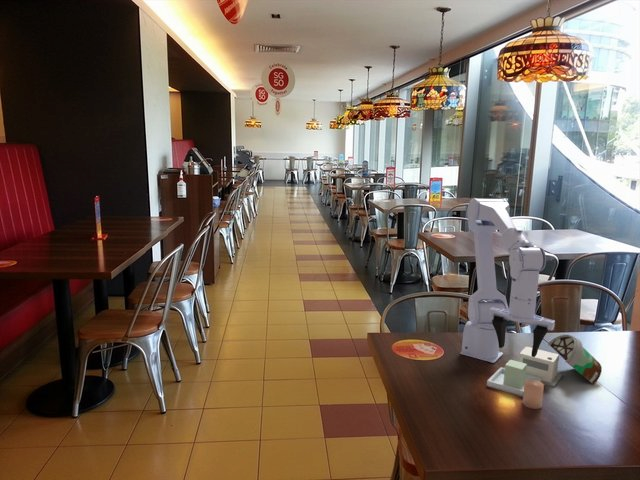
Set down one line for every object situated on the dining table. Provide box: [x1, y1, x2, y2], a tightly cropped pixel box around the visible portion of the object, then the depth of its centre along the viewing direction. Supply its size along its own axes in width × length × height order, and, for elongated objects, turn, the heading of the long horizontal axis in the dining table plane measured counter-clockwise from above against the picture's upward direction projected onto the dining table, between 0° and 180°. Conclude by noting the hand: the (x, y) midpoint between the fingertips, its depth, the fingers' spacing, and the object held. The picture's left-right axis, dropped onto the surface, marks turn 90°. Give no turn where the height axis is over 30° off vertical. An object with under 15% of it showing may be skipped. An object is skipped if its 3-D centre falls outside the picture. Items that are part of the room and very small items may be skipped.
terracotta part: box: [522, 380, 545, 410], centre depth 111 cm, size 4×4×5 cm
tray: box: [486, 366, 542, 398], centre depth 120 cm, size 10×10×1 cm
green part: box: [503, 359, 527, 389], centre depth 119 cm, size 4×4×5 cm
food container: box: [547, 334, 603, 385], centre depth 125 cm, size 12×6×10 cm
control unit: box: [518, 346, 563, 389], centre depth 125 cm, size 10×8×6 cm
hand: (517, 350), depth 119 cm, fingers open, 7 cm apart
